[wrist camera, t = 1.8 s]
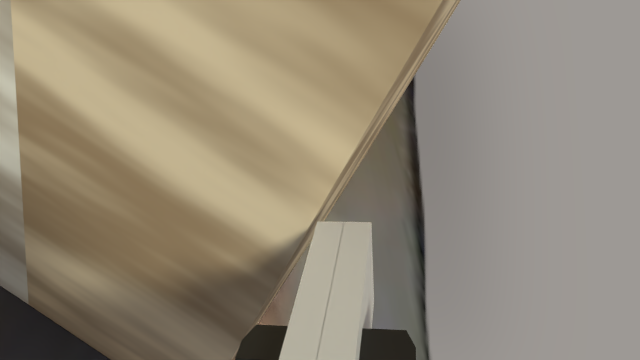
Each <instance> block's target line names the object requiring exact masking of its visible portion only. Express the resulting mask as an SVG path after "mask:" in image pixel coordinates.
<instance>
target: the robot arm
mask: <svg viewBox="0 0 640 360" xmlns="http://www.w3.org/2000/svg"><path fill="white" fill-rule="evenodd" d="M373 306H374V288H373V259H372V230H371V222H318V221H317V224H316V228H315V231H314V235H313V238H312V242H311V246H310V249H309V253H308V256H307V260H306V264H305V267H304V271H303V274H302V278H301V281H300V285H299V289H298V292H297V296H296V299H295V303H294V307H293V310H292V314H291V317H290V321H289V325H288V326H272V325H255V326H254V327H253V329H252V330H251V331H250V332H249V333H248V334H247V335H246V336H245V337H244V338H243V339H242V341H241V343H240V346H239V349H238V351H237V354H236V357H235V360H416V347H415V346H414V344H413V342H412V340H411V338H410V336H409V335H408V333H407V331H406V330H387V329H371V328H372V317H373Z"/></svg>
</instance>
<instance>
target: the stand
mask: <svg viewBox="0 0 640 360" xmlns="http://www.w3.org/2000/svg"><path fill="white" fill-rule="evenodd" d="M459 2H460V0H0V286H2V287H3V288H5V289H6V290H8V291H9V292H11V293H12V294H14V295H15V296H17V297H18V298H20V299H21V300H23V301H24V302H26V303H27V304H29V305H30V306H32V307H33V308H34V309H36V310H37V311H39V312H40V313H42V314H43V315H45V316H46V317H48V318H49V319H51V320H52V321H54V322H55V323H57V324H58V325H60V326H61V327H63V328H64V329H66V330H67V331H69V332H70V333H72V334H73V335H75V336H76V337H78V338H79V339H81V340H82V341H84V342H85V343H87V344H88V345H90V346H91V347H93V348H94V349H96V350H97V351H99V352H100V353H102V354H103V355H105V356H106V357H108V358H109V359H111V360H234V359H235V357H236V354H237V351H238V349H239V346H240V343H241V341H242V339H243V338H244V337H245V336H246V335H247V334H248V333H249V332H250V331H251V330H252V329H253V327H254V326H255V325H257V324H258V322H259V321H260V319H261V318H262V316H263V315H264V313H265V311H266V310H267V308H268V307H269V305H270V304H271V302H272V301H273V299H274V298H275V296H276V294H277V293H278V291H279V290H280V288H281V287H282V285H283V284H284V282H285V280H286V279H287V277H288V276H289V274H290V273H291V271H292V270H293V268H294V267H295V265H296V263H297V262H298V260H299V259H300V257H301V256H302V254H303V253H304V251H305V250H306V248H307V246H308V245H309V243H310V242H311V240H312V238H313V235H314V231H315V228H316V224H317V221H318V222H324V220H325V219H326V217H327V216H328V214H329V212H330V211H331V209H332V208H333V206H334V205H335V203H336V202H337V200H338V199H339V197H340V195H341V194H342V192H343V191H344V189H345V187H346V186H347V184H348V182H349V181H350V179H351V178H352V176H353V174H354V173H355V171H356V169H357V168H358V166H359V165H360V163H361V161H362V160H363V158H364V156H365V155H366V153H367V152H368V150H369V148H370V147H371V145H372V143H373V142H374V140H375V139H376V137H377V135H378V134H379V132H380V130H381V129H382V127H383V126H384V124H385V122H386V121H387V119H388V117H389V116H390V114H391V113H392V111H393V109H394V108H395V106H396V104H397V103H398V101H399V100H400V98H401V96H402V95H403V93H404V91H405V90H406V88H407V87H408V85H409V83H410V82H411V80H412V78H413V77H414V75H415V74H416V72H417V70H418V69H419V67H420V65H421V64H422V62H423V61H424V59H425V57H426V56H427V54H428V52H429V51H430V49H431V47H432V46H433V44H434V43H435V41H436V39H437V38H438V36H439V35H440V33H441V31H442V30H443V28H444V26H445V25H446V23H447V22H448V20H449V18H450V16H451V15H452V14H453V12H454V10H455V9H456V7H457V5H458V4H459Z"/></svg>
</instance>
